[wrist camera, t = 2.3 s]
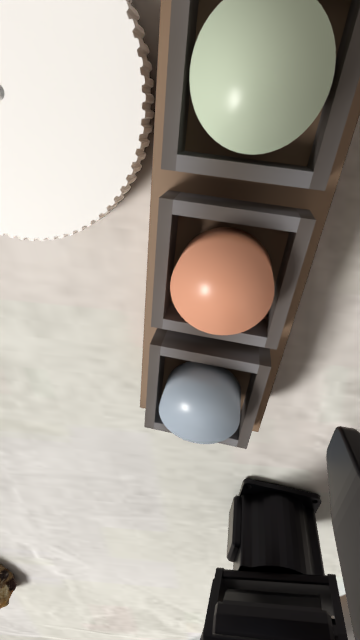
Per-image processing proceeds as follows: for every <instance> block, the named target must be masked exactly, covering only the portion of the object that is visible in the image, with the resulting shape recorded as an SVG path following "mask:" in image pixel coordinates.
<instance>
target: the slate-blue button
mask: <svg viewBox="0 0 360 640" xmlns="http://www.w3.org/2000/svg"><path fill="white" fill-rule="evenodd" d="M240 407H241V388H240V385H239V382H238V380H237V379H236V377H235V376H234V375H233V374H232V373H231V372H230V371H229V370H228V369H226V368H224V367H218V366H213V365H208V364H203V363H198V362H192V361H190V362H186V363H183V364H181V365H179V366H178V367H176V368H175V369H174V370H173V371H172V372H171V373H170V375H169V377H168V380H167V383H166V386H165V389H164V392H163V395H162V398H161V401H160V404H159V415H160V418H161V420H162V422H163V424H164V425H165V426H166V427H167V429H168V430H169V431H171V432H172V433H173V434H175V435H176V436H178V437H179V438H182V439H184V440H186V441H189V442H193V443H199V444H212V443H218V442H221V441H224V440H226V439H228V438H229V437H231V436H232V435H233V434H234V433H235V432H236V430H237V429H238V426H239V423H240Z"/></svg>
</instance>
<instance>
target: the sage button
mask: <svg viewBox="0 0 360 640" xmlns="http://www.w3.org/2000/svg"><path fill="white" fill-rule="evenodd" d="M335 63H336V47H335V39H334V34H333V30H332V26H331V23H330V21H329V19H328V16H327V14H326V12H325V11H324V9H323V7H322V6H321V4H320V3H319V2H318V1H317V0H223V1H222V2H221V3H220V4H219V5H218V6H217V7H216V8H215V9H214V11H213V12H212V13H211V14H210V16H209V17H208V19H207V20H206V22H205V23H204V25H203V27H202V29H201V31H200V33H199V35H198V38H197V41H196V43H195V46H194V50H193V54H192V58H191V65H190V78H189V81H190V93H191V98H192V103H193V106H194V110H195V112H196V115H197V117H198V119H199V121H200V123H201V124H202V126H203V128H204V129H205V130H206V132H207V133H208V134H209V135H210V136H211V137H212V138H213V139H214V140H215V141H216V142H218V143H219V144H220V145H222V146H223V147H225V148H227V149H229V150H232V151H234V152H237V153H242V154H251V155H255V154H264V153H268V152H272V151H275V150H278V149H280V148H282V147H284V146H286V145H288V144H289V143H291V142H292V141H294V140H295V139H297V138H298V137H299V136H300V135H301V134H302V133H303V132H304V131H305V130H306V129H307V128H308V127H309V126H310V125H311V124H312V122H313V121H314V120H315V118H316V117H317V116H318V114H319V112H320V111H321V109H322V107H323V105H324V103H325V101H326V99H327V97H328V94H329V91H330V88H331V85H332V81H333V77H334V72H335Z"/></svg>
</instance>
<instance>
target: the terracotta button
mask: <svg viewBox="0 0 360 640" xmlns="http://www.w3.org/2000/svg"><path fill="white" fill-rule="evenodd" d="M170 292H171V297H172V301H173V304H174V306H175V308H176V310H177V311H178V313H179V314H180V315H181V317H182V318H183V319H184V320H185V321H186V322H188V323H189V324H190V325H191V326H193V327H195V328H196V329H198V330H200V331H203V332H206V333H209V334H214V335H233V334H238V333H241V332H244V331H246V330H248V329H250V328H252V327H254V326H255V325H256V324H258V323H259V322H260V321H261V320H262V319H263V318H264V317H265V315H266V314H267V313H268V311H269V309H270V307H271V305H272V302H273V298H274V279H273V272H272V264H271V260H270V257H269V255H268V252H267V251H266V249H265V247H264V246H263V245H262V244H261V242H260V241H259V240H258V239H256V238H255V237H254V236H252V235H251V234H249V233H247V232H245V231H243V230H240V229H236V228H230V227H219V228H214V229H210V230H207V231H205V232H203V233H201V234H199V235H198V236H196V237H195V238H194V239H193V240H191V241H190V243H189V244H188V245H187V246H186V248H185V249H184V251H183V253H182V255H181V257H180V259H179V260H178V262H177V264H176V266H175V268H174V270H173V273H172V276H171V282H170Z"/></svg>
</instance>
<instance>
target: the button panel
mask: <svg viewBox="0 0 360 640" xmlns="http://www.w3.org/2000/svg"><path fill="white" fill-rule="evenodd" d="M222 1H223V0H161V5H160V25H159V45H158V64H157V84H156V104H155V123H154V143H153V162H152V182H151V202H150V221H149V241H148V260H147V280H146V300H145V319H144V339H143V358H142V378H141V398H140V407H141V408H146V412H145V427H147V428H151V429H156V430H161V431H165V432H170V433H172V432H171V431H169V430H168V429H167V427H166V426H165V425H164V424H163V422H162V420H161V418H160V415H159V404H160V401H161V398H162V395H163V392H164V389H165V386H166V383H167V380H168V377H169V375H170V373H171V372H172V371H173V370H174V369H175V368H176V367H178V366H179V365H181V364H183V363H186V362H190V361H192V362H198V363H203V364H208V365H213V366H218V367H224V368H226V369H228V370H229V371H230V372H231V373H232V374H233V375H234V376H235V377H236V379H237V380H238V382H239V385H240V388H241V407H240V423H239V426H238V429H237V430H236V432H235V433H234V434H233V435H232V436H231V437H229V438H228V439H226V440H224V441H221V442H218V443H221V444H226V445H231V446H235V447H240V448H245V449H247V445H248V442H249V439H250V436H251V432H252V431H256V432H258V431H259V428H260V424H261V421H262V418H263V415H264V412H265V409H266V406H267V403H268V399H269V396H270V393H271V390H272V387H273V384H274V381H275V377H276V374H277V371H278V368H279V365H280V362H281V359H282V356H283V352H284V349H285V346H286V343H287V340H288V337H289V334H290V331H291V327H292V324H293V321H294V318H295V315H296V312H297V309H298V305H299V302H300V299H301V296H302V293H303V290H304V287H305V284H306V280H307V277H308V274H309V271H310V268H311V265H312V262H313V258H314V255H315V252H316V249H317V246H318V243H319V240H320V237H321V233H322V230H323V227H324V224H325V221H326V218H327V215H328V212H329V208H330V205H331V202H332V199H333V196H334V193H335V190H336V186H337V183H338V180H339V177H340V174H341V171H342V168H343V165H344V161H345V158H346V155H347V152H348V149H349V146H350V143H351V140H352V136H353V133H354V130H355V127H356V124H357V121H358V118H359V114H360V0H317V1H318V2H319V3H320V4H321V6H322V7H323V9H324V11H325V12H326V14H327V16H328V19H329V21H330V23H331V26H332V30H333V34H334V39H335V47H336V63H335V72H334V77H333V81H332V85H331V88H330V91H329V94H328V97H327V99H326V101H325V103H324V105H323V107H322V109H321V111H320V112H319V114H318V116H317V117H316V118H315V120H314V121H313V122H312V124H311V125H310V126H309V127H308V128H307V129H306V130H305V131H304V132H303V133H302V134H301V135H300V136H299V137H298V138H297V139H295V140H294V141H292V142H291V143H289V144H288V145H286V146H284V147H282V148H280V149H278V150H275V151H272V152H268V153H264V154H255V155H251V154H242V153H237V152H234V151H232V150H229V149H227V148H225V147H223V146H222V145H220V144H219V143H218V142H216V141H215V140H214V139H213V138H212V137H211V136H210V135H209V134H208V133H207V132H206V130H205V129H204V128H203V126H202V124H201V123H200V121H199V119H198V117H197V115H196V112H195V110H194V106H193V103H192V98H191V93H190V81H189V78H190V65H191V58H192V54H193V50H194V46H195V43H196V41H197V38H198V35H199V33H200V31H201V29H202V27H203V25H204V23H205V22H206V20H207V19H208V17H209V16H210V14H211V13H212V12H213V11H214V9H215V8H216V7H217V6H218V5H219V4H220V3H221V2H222ZM219 227H230V228H236V229H240V230H243V231H245V232H247V233H249V234H251V235H252V236H254V237H255V238H256V239H258V240H259V241H260V242H261V244H262V245H263V246H264V247H265V249H266V251H267V252H268V255H269V257H270V260H271V264H272V272H273V279H274V298H273V302H272V305H271V307H270V309H269V311H268V313H267V314H266V315H265V317H264V318H263V319H262V320H261V321H260V322H259V323H258V324H256V325H255V326H254V327H252V328H250V329H248V330H246V331H244V332H241V333H238V334H233V335H214V334H209V333H206V332H203V331H200V330H198V329H196V328H195V327H193V326H191V325H190V324H189V323H188V322H186V321H185V320H184V319H183V318H182V317H181V315H180V314H179V313H178V311H177V310H176V308H175V306H174V304H173V301H172V297H171V292H170V282H171V276H172V273H173V270H174V268H175V266H176V264H177V262H178V260H179V259H180V257H181V255H182V253H183V251H184V249H185V248H186V246H187V245H188V244H189V243H190V241H191V240H193V239H194V238H195V237H196V236H198V235H199V234H201V233H203V232H205V231H207V230H210V229H214V228H219Z"/></svg>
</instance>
